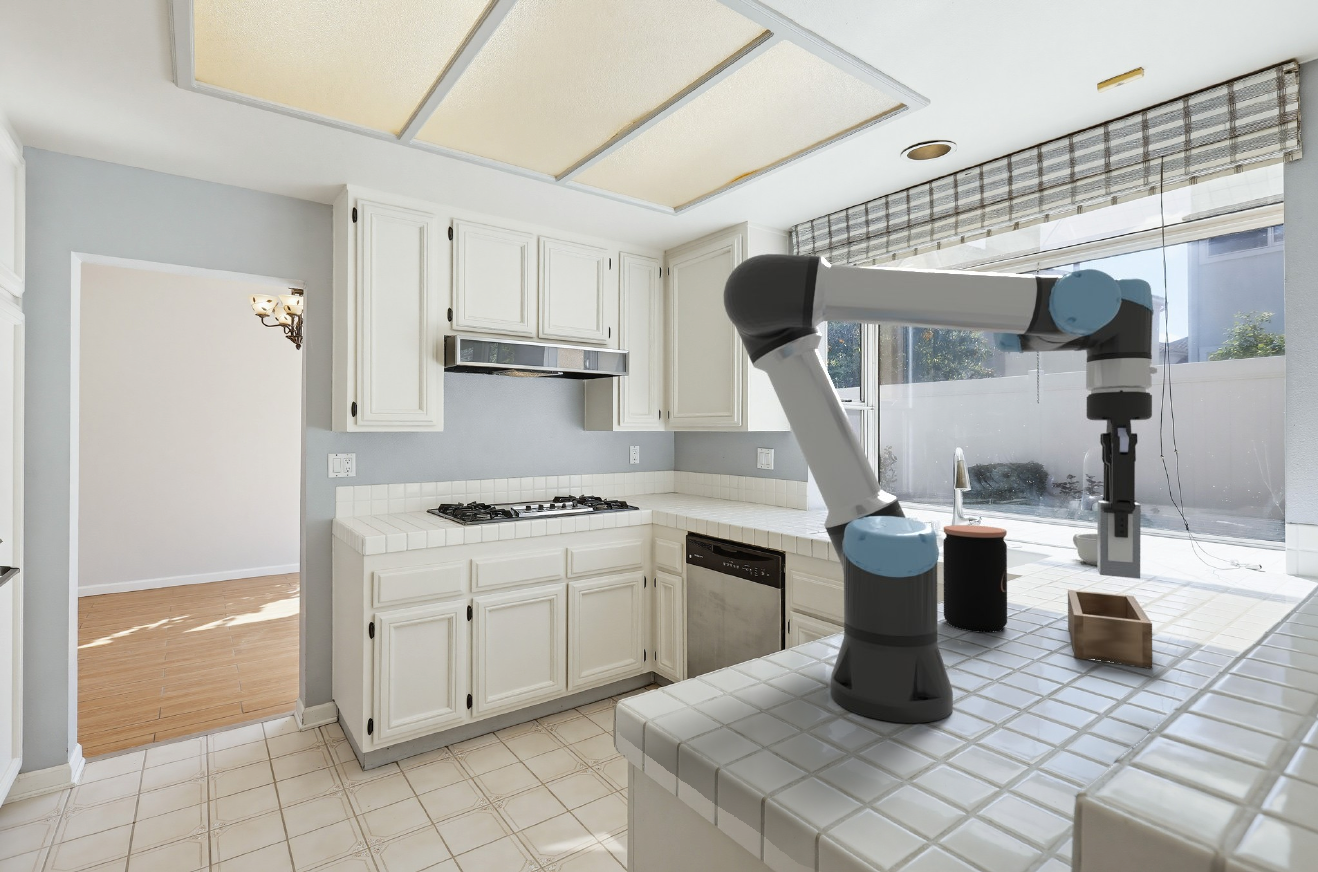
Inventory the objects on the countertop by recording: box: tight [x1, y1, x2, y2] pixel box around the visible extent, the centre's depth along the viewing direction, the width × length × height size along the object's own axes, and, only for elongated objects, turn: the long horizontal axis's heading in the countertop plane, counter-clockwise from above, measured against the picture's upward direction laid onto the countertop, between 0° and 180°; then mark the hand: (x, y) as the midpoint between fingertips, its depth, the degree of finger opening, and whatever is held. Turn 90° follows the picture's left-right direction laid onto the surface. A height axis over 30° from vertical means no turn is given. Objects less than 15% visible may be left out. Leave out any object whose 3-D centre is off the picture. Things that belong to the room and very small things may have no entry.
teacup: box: [1072, 533, 1098, 566], centre depth 186 cm, size 14×11×8 cm
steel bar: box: [1096, 500, 1142, 580], centre depth 91 cm, size 4×4×10 cm
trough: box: [1067, 589, 1153, 669], centre depth 109 cm, size 10×21×7 cm, turn 150°
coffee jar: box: [942, 524, 1008, 633], centre depth 121 cm, size 11×11×18 cm
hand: (1117, 557), depth 91 cm, fingers closed on steel bar, 4 cm apart
